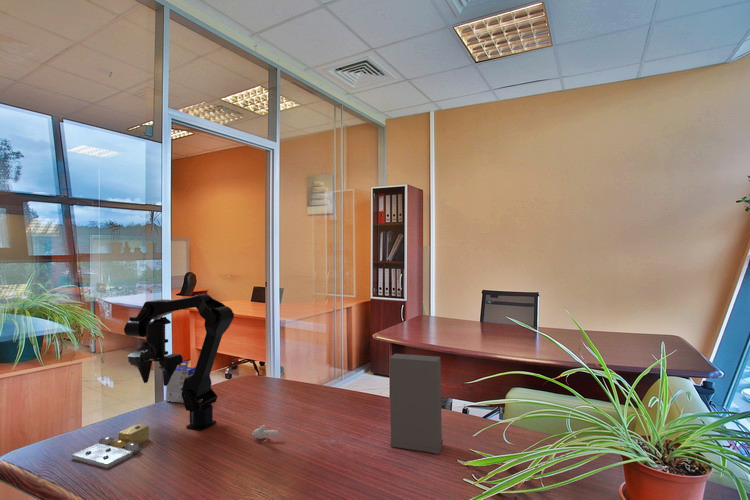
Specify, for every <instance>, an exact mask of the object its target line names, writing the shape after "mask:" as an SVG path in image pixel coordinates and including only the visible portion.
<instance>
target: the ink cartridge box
mask: <svg viewBox="0 0 750 500" xmlns="http://www.w3.org/2000/svg"><path fill="white" fill-rule="evenodd" d="M188 365H189V360H188V361H187V360H183V363H180V365H178V366H177V368H176V369H175V371H174V373H173V375H172V377H171V379H170V381H169V383H168V385H166V386H165V388H166V389H165V390H166V393H165V402H169V401H168V400H170V402H172V403H183V404H184V401H183V398H182V395H181V394H182V391H181V389H182V387H183V383H184V380H185V378H187V377H190V376H192V375H193V374H194V371H195V368H196V366H188ZM179 396H180V397H179Z"/></svg>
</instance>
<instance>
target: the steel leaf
mask: <svg viewBox="0 0 750 500" xmlns="http://www.w3.org/2000/svg"><path fill="white" fill-rule="evenodd" d="M115 439H116V438H114V437H113V438H112V437H109V436H102V437H101V438H100V439H99V440H98V443H95V444H94V445H91V446H88V447H87V448H84V449H82V450H79V451H77V452H75V453H73V454H71V460H73V461H78V462H81V463H85V464H89V465H92V466H96V467H99V468H103V469H105V470H106V469H109V468H111V467H113V466H116V465H117V464H119V463H121V462H123V461H125V460H128V459H130V458H132V457H133V456H134V455H136V454H137V455H138V453H140V452H141V450H142V445H141V443H140V444H136V443H132V442H129V443H127V444H126V445H125V447H124V449H122V448H118V447H114V446H110V444H111V442H112V441H113V440H115Z"/></svg>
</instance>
